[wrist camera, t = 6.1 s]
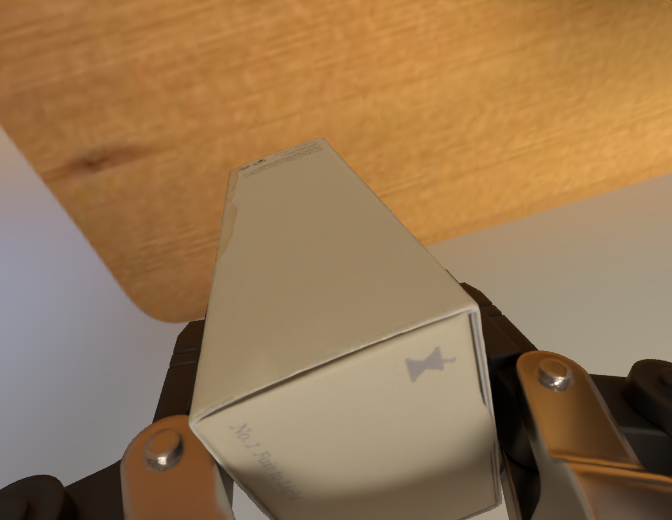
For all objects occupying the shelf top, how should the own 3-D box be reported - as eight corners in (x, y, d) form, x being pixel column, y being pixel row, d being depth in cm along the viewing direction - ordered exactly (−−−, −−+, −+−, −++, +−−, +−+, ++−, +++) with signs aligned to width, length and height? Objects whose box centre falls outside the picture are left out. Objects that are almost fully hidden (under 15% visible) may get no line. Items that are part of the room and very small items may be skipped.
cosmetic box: (227, 168, 15) (155, 413, 4) (327, 132, 15) (486, 289, 5) (282, 285, 18) (315, 588, 8) (364, 255, 18) (509, 514, 8)
